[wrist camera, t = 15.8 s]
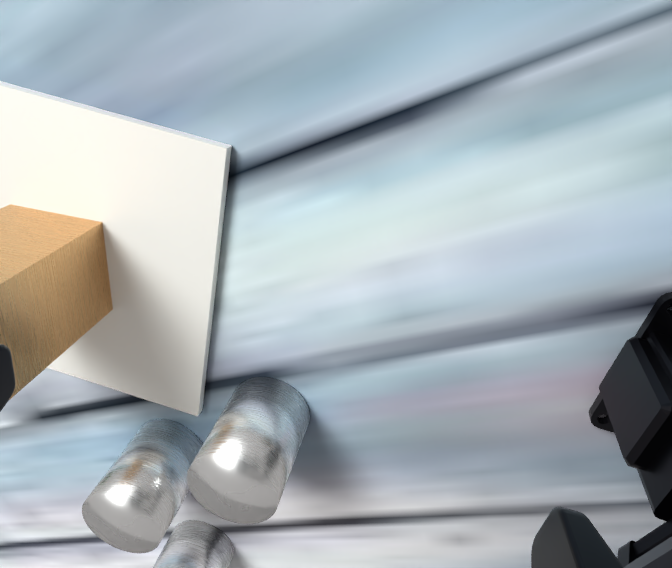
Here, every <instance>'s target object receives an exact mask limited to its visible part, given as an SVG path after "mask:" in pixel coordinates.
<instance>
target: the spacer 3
mask: <svg viewBox="0 0 672 568" xmlns="http://www.w3.org/2000/svg"><path fill="white" fill-rule="evenodd" d="M309 421H310V412H309V408H308V405H307V403H306V401H305V400H304V398H303V397H302V396H301V395H300V394H299V392H298V391H296V390H295V389H294V388H293V387H291V386H290V385H288V384H286V383H284V382H282V381H280V380H277V379H273V378H268V377H255V378H251V379H248V380H245V381H244V382H242V383H241V384H240V385H239V386H238V387H237V388H236V390H235V392H234V393H233V395H232V397H231V398H230V400H229V402H228V403H227V405H226V407H225V408H224V410H223V412H222V413H221V415H220V417H219V418H218V420H217V422H216V424H215V425H214V427H213V429H212V430H211V432H210V434H209V435H208V437H207V439H206V440H205V442H204V444H203V445H202V447H201V449H200V450H199V452H198V454H197V455H196V457H195V459H194V461H193V462H192V464H191V466H190V467H189V469H188V472H187V483H188V487H189V489H190V491H191V493H192V495H193V496H194V497H195V499H196V500H197V501H198V502H199V503H200V504H201V505H202V506H203V507H204V508H206V509H207V510H208V511H210V512H211V513H213V514H215V515H217V516H219V517H221V518H223V519H226V520H229V521H232V522H236V523H243V524H254V523H259V522H263V521H265V520H267V519H269V518H270V517H271V516H272V515H273V514H274V513H275V511H276V509H277V506H278V504H279V501H280V498H281V496H282V493H283V490H284V488H285V485H286V482H287V480H288V477H289V475H290V472H291V469H292V467H293V464H294V461H295V459H296V456H297V453H298V451H299V448H300V445H301V443H302V440H303V438H304V435H305V432H306V430H307V427H308V424H309Z"/></svg>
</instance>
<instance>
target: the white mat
mask: <svg viewBox="0 0 672 568" xmlns="http://www.w3.org/2000/svg"><path fill="white" fill-rule="evenodd" d="M231 148H232V145H228V144H225V143H221V142H217V141H214V140H210V139H207V138H203V137H200V136H196V135H192V134H189V133H185V132H182V131H178V130H174V129H171V128H167V127H164V126H160V125H156V124H153V123H149V122H146V121H142V120H138V119H135V118H131V117H128V116H124V115H121V114H117V113H113V112H110V111H106V110H103V109H99V108H95V107H92V106H88V105H85V104H81V103H77V102H74V101H70V100H67V99H63V98H60V97H56V96H52V95H49V94H45V93H42V92H38V91H34V90H31V89H27V88H24V87H20V86H16V85H13V84H9V83H6V82H2V81H0V209H1V208H3V207H5V206H7V205H10V204H12V205H17V206H22V207H27V208H32V209H37V210H42V211H48V212H53V213H58V214H63V215H68V216H73V217H79V218H84V219H89V220H94V221H99V222H102V223H103V231H104V240H105V248H106V256H107V265H108V273H109V281H110V290H111V298H112V306H113V310H112V311H110V312H109V313H108V314H107V315H106V316H105V317H104V318H102V319H101V320H100V321H99V322H98V323H97V324H96V325H94V326H93V327H92V328H91V329H90V330H89V331H88V332H86V333H85V334H84V335H83V336H82V337H81V338H80V339H78V340H77V341H76V342H75V343H74V344H73V345H72V346H70V347H69V348H68V349H67V350H66V351H65V352H64V353H62V354H61V355H60V356H59V357H58V358H57V359H56V360H54V361H53V362H52V363H51V364H50V365H49V366H48V367H46V368H49V369H53V370H56V371H59V372H62V373H65V374H68V375H71V376H74V377H77V378H80V379H83V380H87V381H90V382H93V383H96V384H99V385H102V386H105V387H108V388H111V389H114V390H117V391H120V392H124V393H127V394H130V395H133V396H136V397H139V398H142V399H145V400H148V401H151V402H154V403H157V404H161V405H164V406H167V407H170V408H173V409H176V410H179V411H182V412H185V413H188V414H191V415H194V416H199V414H200V413H201V411H202V408H203V399H204V390H205V381H206V372H207V363H208V354H209V345H210V336H211V327H212V318H213V309H214V300H215V291H216V282H217V273H218V265H219V256H220V247H221V238H222V229H223V220H224V211H225V202H226V193H227V184H228V175H229V166H230V157H231Z"/></svg>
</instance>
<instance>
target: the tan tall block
mask: <svg viewBox="0 0 672 568" xmlns="http://www.w3.org/2000/svg"><path fill="white" fill-rule="evenodd" d="M112 310H113V306H112V298H111V290H110V281H109V273H108V265H107V256H106V248H105V240H104V231H103V223H102V222H99V221H94V220H89V219H84V218H79V217H73V216H68V215H63V214H58V213H53V212H48V211H42V210H37V209H32V208H27V207H22V206H17V205H12V204H10V205H7V206H5V207H3V208H1V209H0V344H3V345H5V346H7V347H8V348H9V349H10V352H11V356H12V363H13V369H14V375H15V389H14V392H13V394H12V396H11V398H12V397H13V396H14V395H16V394H17V393H18V392H19V391H20V390H21V389H22V388H24V387H25V386H26V385H27V384H28V383H29V382H30V381H32V380H33V379H34V378H35V377H36V376H37V375H38V374H40V373H41V372H42V371H43V370H44V369H45V368H46V367H48V366H49V365H50V364H51V363H52V362H53V361H54V360H56V359H57V358H58V357H59V356H60V355H61V354H62V353H64V352H65V351H66V350H67V349H68V348H69V347H70V346H72V345H73V344H74V343H75V342H76V341H77V340H78V339H80V338H81V337H82V336H83V335H84V334H85V333H86V332H88V331H89V330H90V329H91V328H92V327H93V326H94V325H96V324H97V323H98V322H99V321H100V320H101V319H102V318H104V317H105V316H106V315H107V314H108V313H109V312H110V311H112ZM11 398H10V399H11ZM10 399H9V400H10Z"/></svg>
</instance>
